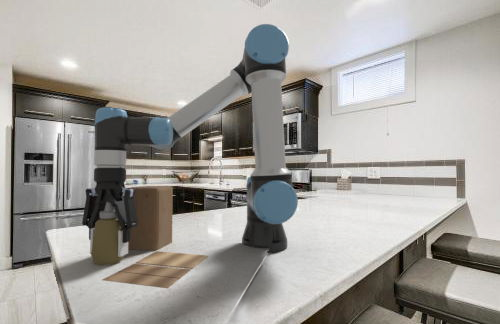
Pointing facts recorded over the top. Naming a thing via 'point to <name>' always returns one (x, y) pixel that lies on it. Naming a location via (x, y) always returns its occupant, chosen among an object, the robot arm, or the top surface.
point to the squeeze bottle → (106, 238)
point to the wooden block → (152, 218)
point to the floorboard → (148, 275)
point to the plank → (173, 259)
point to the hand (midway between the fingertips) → (109, 253)
